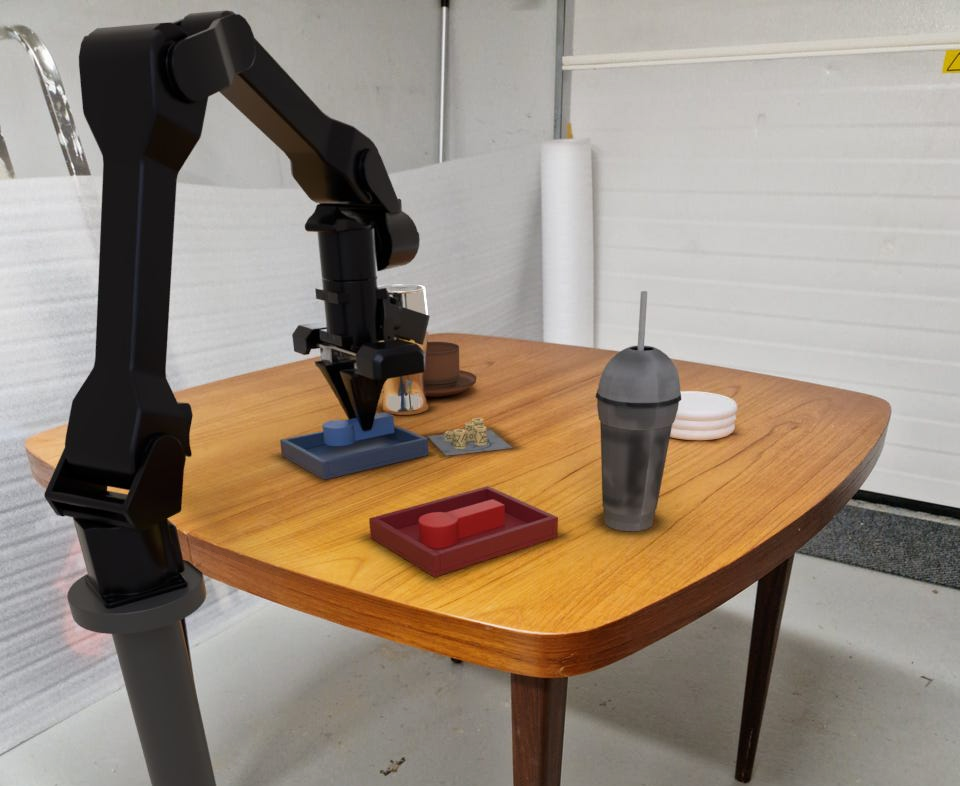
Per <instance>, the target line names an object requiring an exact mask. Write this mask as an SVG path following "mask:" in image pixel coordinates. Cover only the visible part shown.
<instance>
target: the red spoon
mask: <svg viewBox="0 0 960 786" xmlns="http://www.w3.org/2000/svg"><path fill="white" fill-rule="evenodd" d="M504 525H505V505H504V504H502V503H500V502H497V501H495V500H493V499H492V500H488V501H485V502H481V503H478V504H474V505H471V506H467V507H464V508H460V509H457V510H453V511H449V512H446V513H445V512H434V513H428V514H425V515H423V516H421V517H420V518H419V541H420V543H421V544H423V545H424V546H426V547H430V548H446V547H450V546H453V545H455V544H456V543H457V542H458V539H462V538H465V537H468V536H471V535H475V534H478V533H481V532H485V531H488V530H491V529H494V528H498V527H501V526H504Z"/></svg>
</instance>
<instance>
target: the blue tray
mask: <svg viewBox="0 0 960 786" xmlns="http://www.w3.org/2000/svg"><path fill="white" fill-rule="evenodd" d="M279 444H280V451H281V456H282V457H283V458H285V459H286V460H289V461H290V462H292V463H293V464H295V465H297V466H299V467H301V468H303V470H305V471H307V472H309V473H312V474H313V475H315V476H317V477H318V478H320V479H322V480H324V481H325V480H329V479H334V478H338V477H342V476H346V475H350V474H355V473H360V472H362V471H368V470H371V469H376V468H381V467H384V466H388V465H389V466H390V465H392V464H396V463H401V462H406V461H409V460H413V459H417V458H423V457H426V456H429V455H430V451H429V438H428V437H425V436H423V435H420V434H418V433H415V432H413V431H411V430H408V429H405V428H403V427H401V426H398V425H396V424H394V433H391V434H386V435H381V436H377V437H372V438H367V439H363V440H358V441H355V442H354V443H353V444H350V445H346V446H329V445H326V444H325V443H324V436H323V430H321V431H316V432H311V433H306V434H301V435H295V436H291V437H286V438H282V439H280V440H279Z"/></svg>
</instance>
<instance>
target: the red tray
mask: <svg viewBox="0 0 960 786" xmlns="http://www.w3.org/2000/svg"><path fill="white" fill-rule="evenodd" d="M492 499H493V500H495V501H497V502H500V503H502V504H504V505H505V525H504V526H501V527H498V528H494V529H491V530H488V531H485V532H481V533H478V534H475V535H471V536H468V537H465V538H462V539H458V542H457V543H456V544H455V545H453V546H450V547H446V548H430V547H426V546H424V545H423V544H421V543H420V541H419V518H420V517H421V516H423V515H425V514H428V513H434V512H445V513H446V512H449V511H453V510H457V509H460V508H464V507H467V506H471V505H474V504H478V503H481V502H485V501H488V500H492ZM368 519H369V520H368V521H369V523H368V524H369V535H370V539H372V540H373V541H375V542H376V543H378V544H380V545H382V546H383V547H385V548H386V549H388V550H390V551H391V552H393V553H395V554H396V555H397V556H399V557H401V558H403V559H404V560H406V561H408V562H409V563H411V564H413V565H414V566H416V567H417V568H419V569H420V570H422V571H424V572H425V573H427V574H429V575H430V576H432V577H434V578H436V577H439V576H442V575H446V574H448V573H452V572H455V571H457V570H461V569H463V568H464V569H465V568H467V567H470V566H473V565H477V564H479V563H482V562H485V561H489V560H492V559H494V558H498V557H501V556H503V555H506V554H509V553H512V552H516V551H519V550H522V549H524V548H528V547H531V546H534V545H538V544H540V543H543V542H546V541H549V540H553V539H555V538H558V532H559V531H558V529H559V517H558V516H556V515H554V514H553V513H550V512H547V511H545V510H543V509H541V508H539V507H536V506H535V505H532V504H529V503H528V502H525V501H522V500H520V499H518V498H516V497H514V496H511V495H510V494H507V493H505V492H503V491H500V490H498V489H496V488H494V487H491V486H489V485H487V486H482V487H479V488H475V489H472V490H468V491H465V492H461V493H457V494H454V495H450V496H445V497H442V498H439V499H435V500H431V501H428V502H424V503H420V504H417V505H412V506H410V507H406V508H402V509H398V510H395V511H390V512H387V513H384V514H383V513H382V514H380V515H379V514H378V515H376V516H373V517H369V518H368Z"/></svg>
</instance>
